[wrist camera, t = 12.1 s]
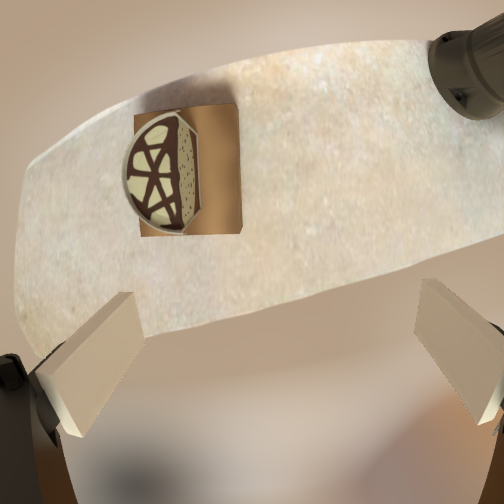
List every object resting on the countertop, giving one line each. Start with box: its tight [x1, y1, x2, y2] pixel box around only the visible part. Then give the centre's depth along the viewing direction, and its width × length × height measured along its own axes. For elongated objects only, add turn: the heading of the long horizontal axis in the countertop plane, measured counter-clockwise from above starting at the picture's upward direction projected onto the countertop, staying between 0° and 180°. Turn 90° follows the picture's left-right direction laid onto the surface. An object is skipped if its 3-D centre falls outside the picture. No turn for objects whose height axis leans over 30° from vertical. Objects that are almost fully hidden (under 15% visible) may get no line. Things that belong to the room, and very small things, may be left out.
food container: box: [122, 110, 202, 235], centre depth 31 cm, size 12×6×10 cm, turn 2°
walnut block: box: [134, 103, 243, 237], centre depth 38 cm, size 13×16×5 cm
